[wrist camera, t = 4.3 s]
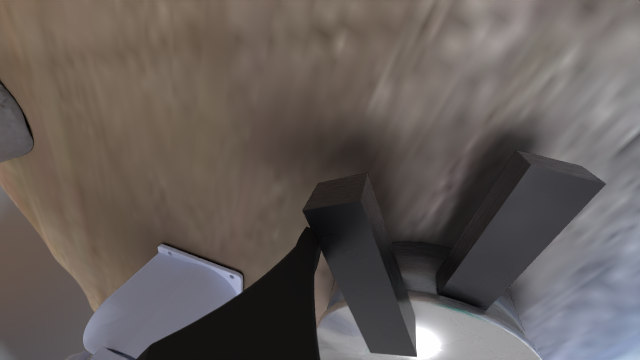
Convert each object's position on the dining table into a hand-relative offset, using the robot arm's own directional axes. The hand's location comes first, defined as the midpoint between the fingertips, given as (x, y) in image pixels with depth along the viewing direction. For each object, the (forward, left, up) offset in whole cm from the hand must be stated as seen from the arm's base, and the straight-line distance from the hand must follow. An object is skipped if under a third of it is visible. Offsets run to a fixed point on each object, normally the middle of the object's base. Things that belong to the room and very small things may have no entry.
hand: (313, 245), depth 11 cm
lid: (+7, -7, -2) cm, 10 cm away
